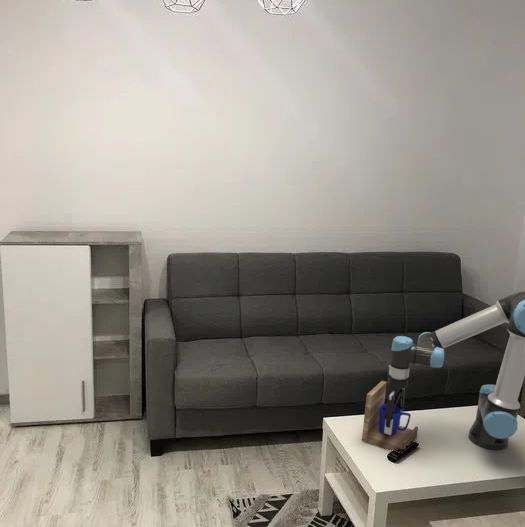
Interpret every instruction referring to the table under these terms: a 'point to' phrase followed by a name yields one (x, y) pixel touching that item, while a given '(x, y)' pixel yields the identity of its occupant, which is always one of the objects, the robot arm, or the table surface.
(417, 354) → the robot arm
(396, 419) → the mug
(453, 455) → the table surface
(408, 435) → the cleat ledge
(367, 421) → the wall board
